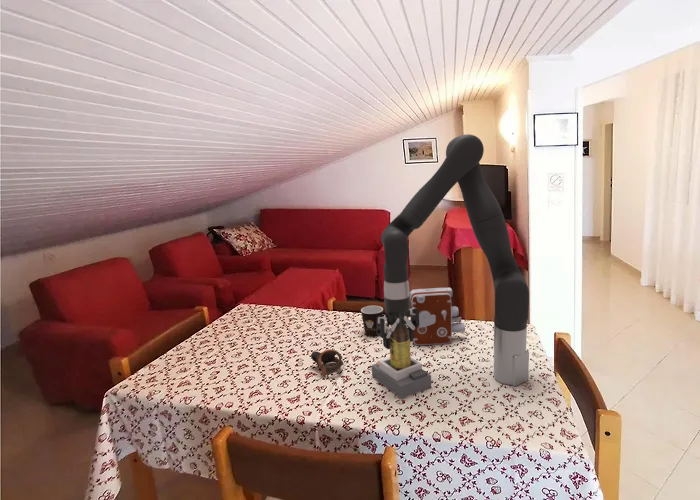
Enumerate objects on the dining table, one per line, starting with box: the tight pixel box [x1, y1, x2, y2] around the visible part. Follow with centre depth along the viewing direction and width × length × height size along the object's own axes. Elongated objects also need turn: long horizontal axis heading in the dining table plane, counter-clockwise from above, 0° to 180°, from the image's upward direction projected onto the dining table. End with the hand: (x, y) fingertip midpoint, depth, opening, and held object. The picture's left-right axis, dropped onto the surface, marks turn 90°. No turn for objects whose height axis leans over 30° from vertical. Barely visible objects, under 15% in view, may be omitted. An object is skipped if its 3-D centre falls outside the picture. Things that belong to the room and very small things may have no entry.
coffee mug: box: [360, 305, 386, 338], centre depth 174 cm, size 12×9×10 cm
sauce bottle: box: [389, 312, 412, 371], centre depth 137 cm, size 6×6×20 cm
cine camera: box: [409, 287, 466, 346], centre depth 164 cm, size 9×19×20 cm, turn 89°
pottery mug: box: [310, 349, 344, 378], centre depth 150 cm, size 12×10×8 cm
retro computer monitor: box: [371, 356, 432, 400], centre depth 140 cm, size 16×11×6 cm
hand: (399, 344), depth 138 cm, fingers open, 8 cm apart
